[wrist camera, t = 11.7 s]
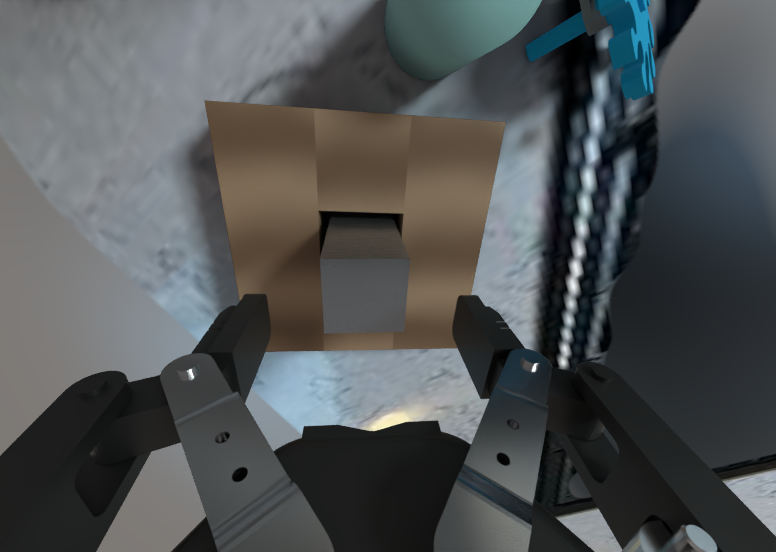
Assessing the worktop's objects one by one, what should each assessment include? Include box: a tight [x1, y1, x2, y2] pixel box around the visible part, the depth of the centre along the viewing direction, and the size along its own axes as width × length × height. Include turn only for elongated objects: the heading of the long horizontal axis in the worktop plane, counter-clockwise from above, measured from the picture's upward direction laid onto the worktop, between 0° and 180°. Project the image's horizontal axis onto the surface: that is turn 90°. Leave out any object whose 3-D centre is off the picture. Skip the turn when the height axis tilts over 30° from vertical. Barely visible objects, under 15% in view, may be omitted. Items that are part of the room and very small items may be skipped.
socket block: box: [205, 101, 506, 352], centre depth 22 cm, size 16×16×4 cm
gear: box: [526, 0, 655, 100], centre depth 17 cm, size 11×6×10 cm
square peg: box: [320, 211, 410, 334], centre depth 19 cm, size 4×4×10 cm
